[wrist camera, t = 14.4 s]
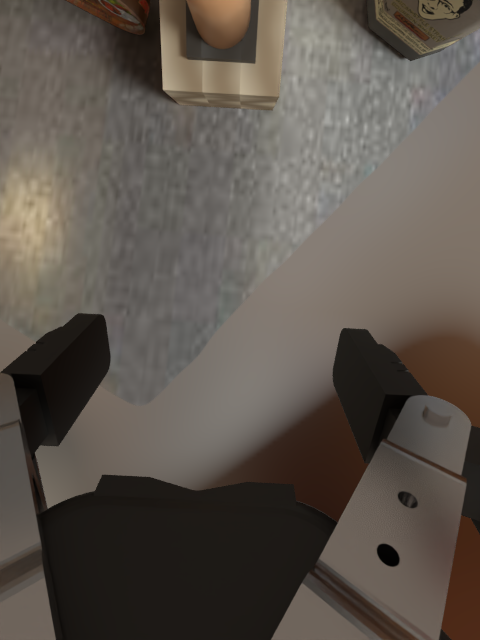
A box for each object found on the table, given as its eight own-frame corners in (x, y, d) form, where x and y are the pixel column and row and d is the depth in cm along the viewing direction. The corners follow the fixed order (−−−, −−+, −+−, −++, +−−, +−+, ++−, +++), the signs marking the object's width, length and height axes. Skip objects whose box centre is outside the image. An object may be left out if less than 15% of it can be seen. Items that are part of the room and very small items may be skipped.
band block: (179, 104, 35) (160, 87, 28) (177, -20, 31) (153, -83, 23) (272, 110, 36) (279, 94, 28) (282, -14, 31) (294, -74, 23)
